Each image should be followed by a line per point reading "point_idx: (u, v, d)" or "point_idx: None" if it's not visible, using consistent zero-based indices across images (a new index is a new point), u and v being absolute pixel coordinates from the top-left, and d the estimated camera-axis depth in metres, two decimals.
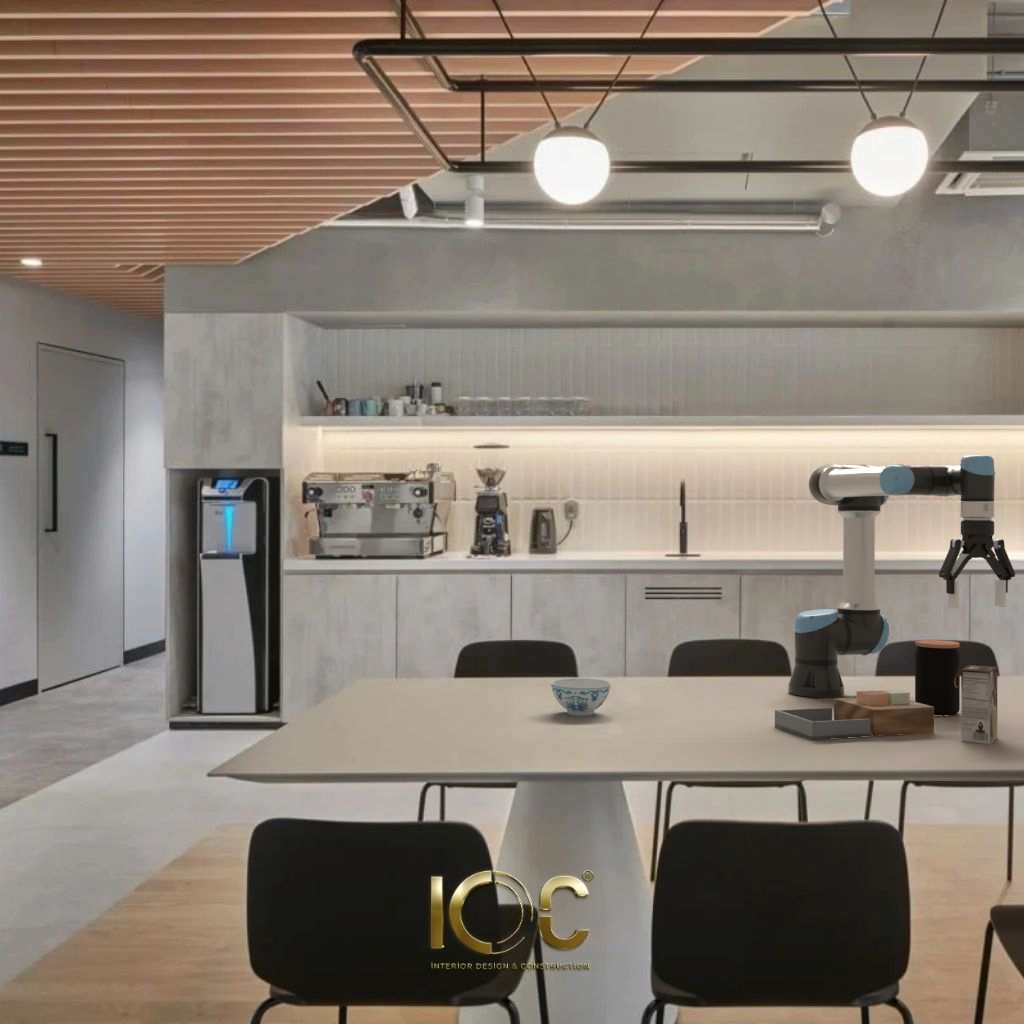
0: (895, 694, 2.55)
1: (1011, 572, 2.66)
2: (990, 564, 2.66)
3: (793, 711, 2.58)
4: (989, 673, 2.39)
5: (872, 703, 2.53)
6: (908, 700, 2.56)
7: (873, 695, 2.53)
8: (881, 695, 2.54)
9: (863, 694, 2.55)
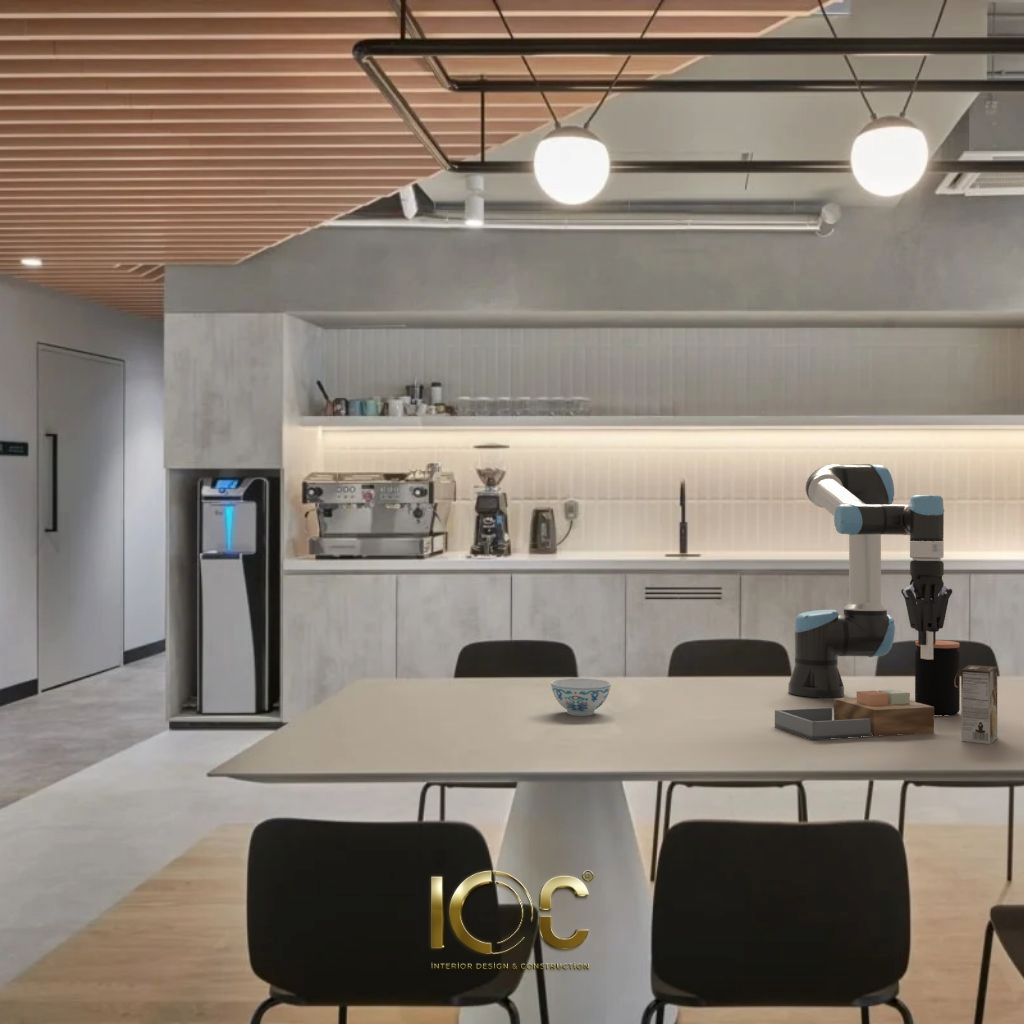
0: (895, 694, 2.55)
1: (940, 622, 2.60)
2: (927, 609, 2.61)
3: (793, 711, 2.58)
4: (989, 673, 2.39)
5: (872, 703, 2.53)
6: (908, 700, 2.56)
7: (873, 695, 2.53)
8: (881, 695, 2.54)
9: (863, 694, 2.55)
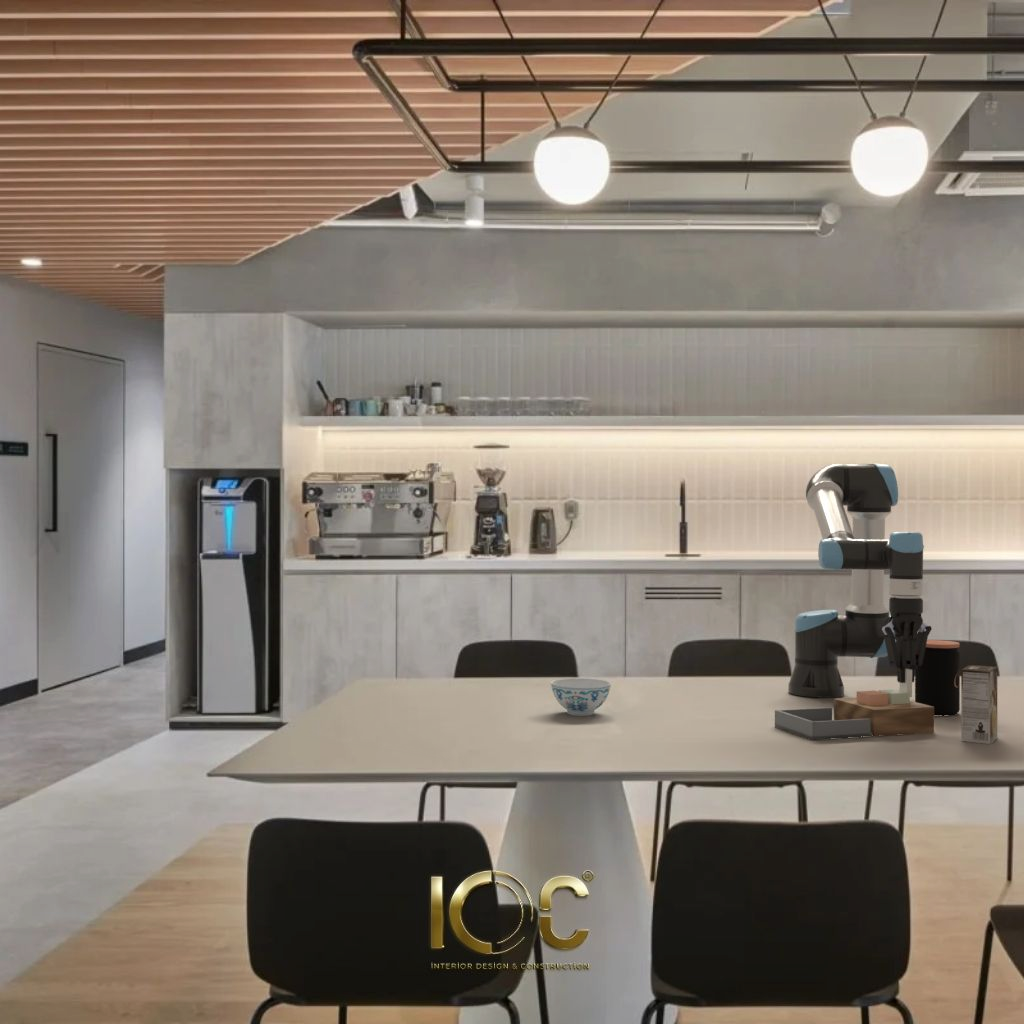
0: (895, 694, 2.55)
1: (919, 660, 2.59)
2: (906, 646, 2.60)
3: (793, 711, 2.58)
4: (989, 673, 2.39)
5: (872, 703, 2.53)
6: (908, 700, 2.56)
7: (873, 695, 2.53)
8: (881, 695, 2.54)
9: (863, 694, 2.55)
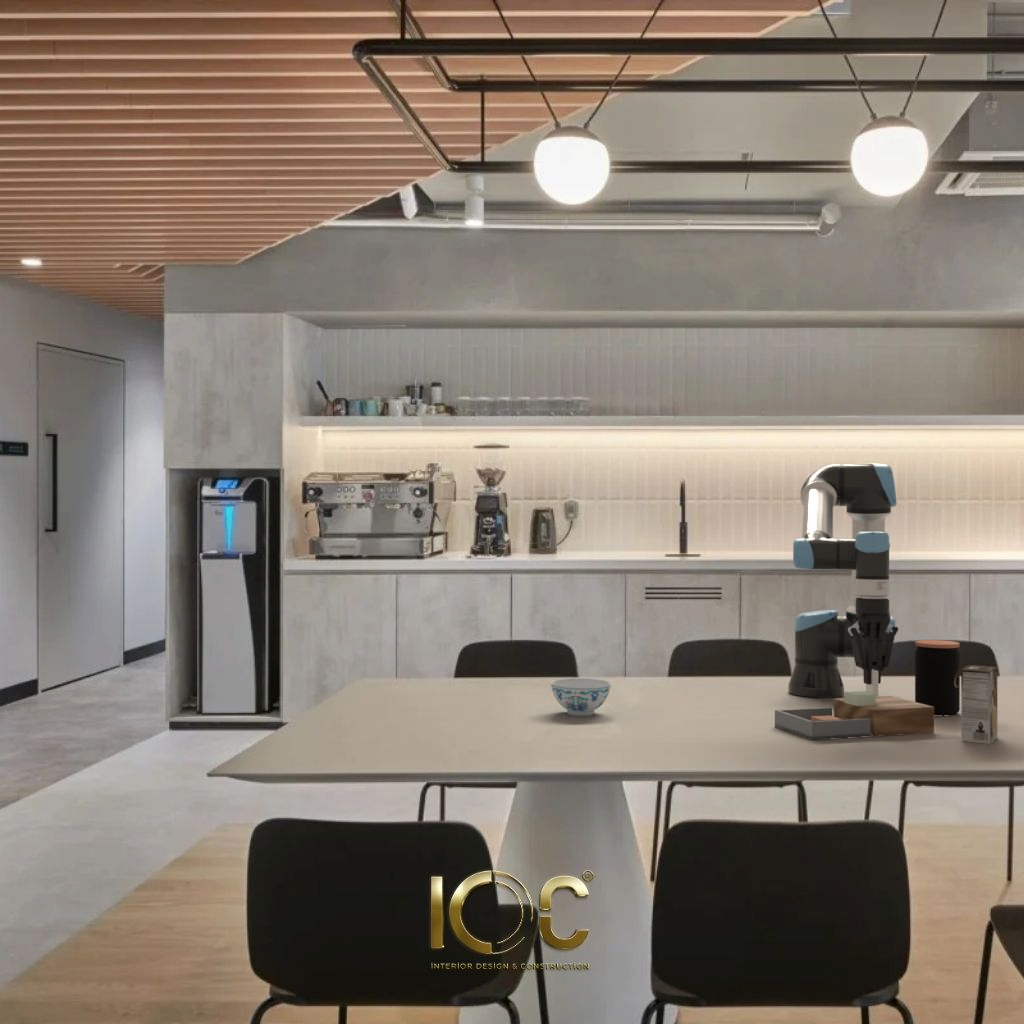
0: (861, 696, 2.52)
1: (886, 661, 2.56)
2: (873, 647, 2.57)
3: (793, 711, 2.58)
4: (989, 673, 2.39)
5: None
6: (874, 702, 2.53)
7: None
8: None
9: None
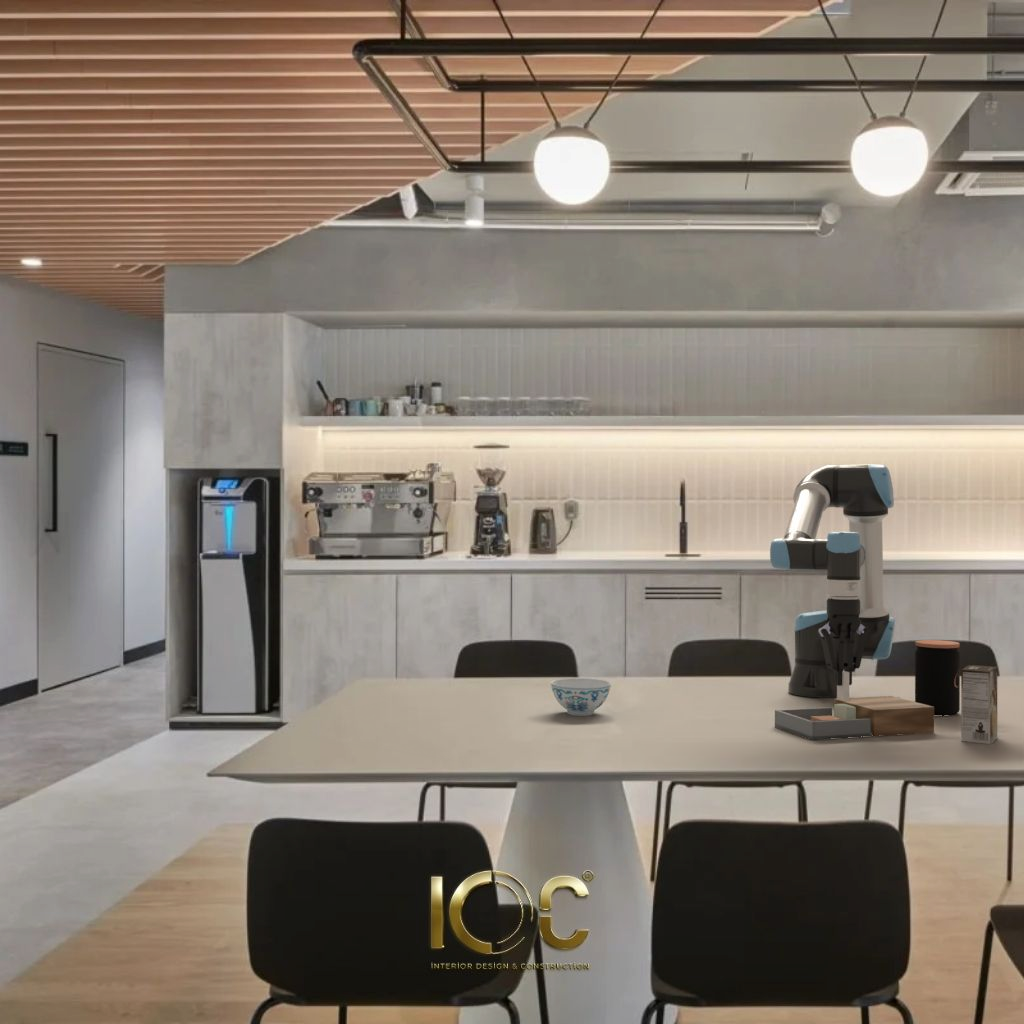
0: None
1: (857, 662, 2.54)
2: (844, 648, 2.55)
3: (793, 711, 2.58)
4: (989, 673, 2.39)
5: None
6: (853, 708, 2.52)
7: None
8: None
9: None
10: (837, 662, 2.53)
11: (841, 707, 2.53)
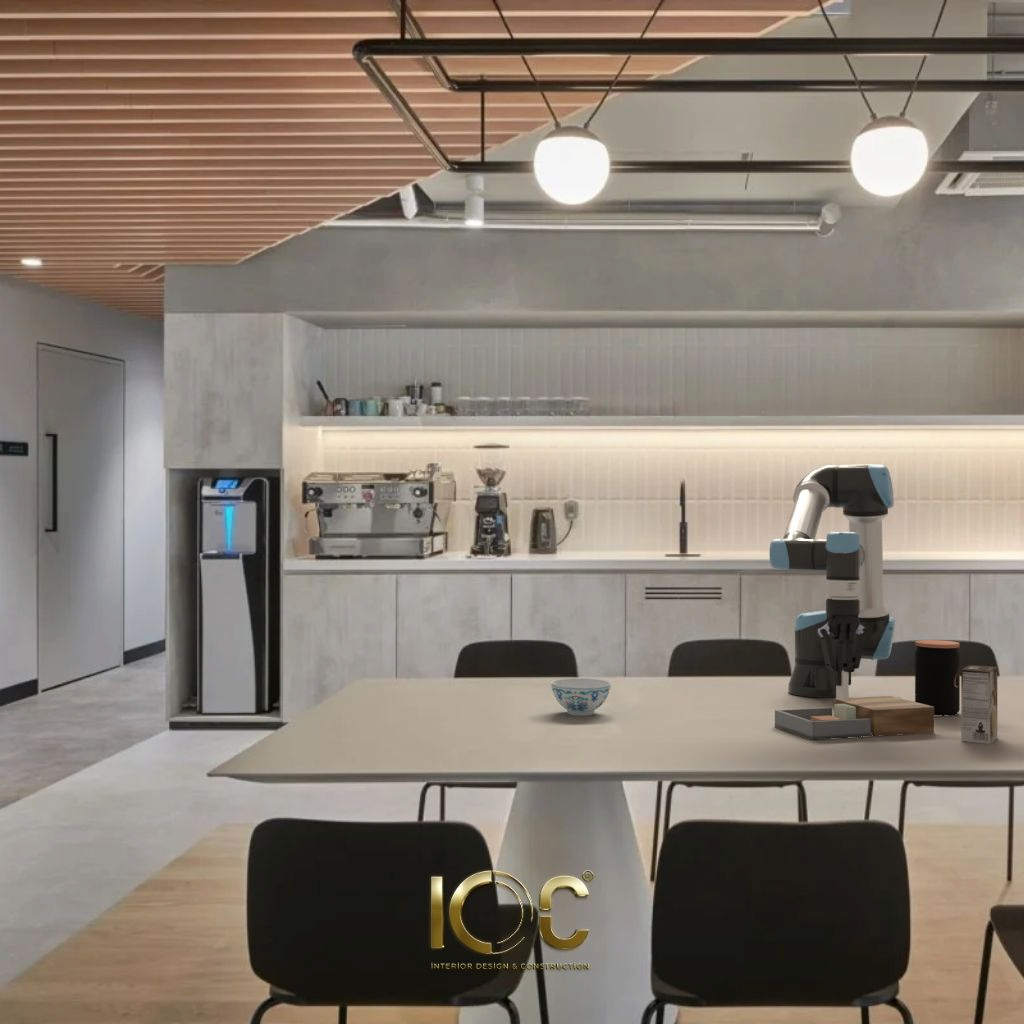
0: None
1: (856, 663, 2.54)
2: (843, 648, 2.55)
3: (793, 711, 2.58)
4: (989, 673, 2.39)
5: None
6: (853, 708, 2.52)
7: None
8: None
9: None
10: (836, 662, 2.53)
11: (841, 707, 2.53)
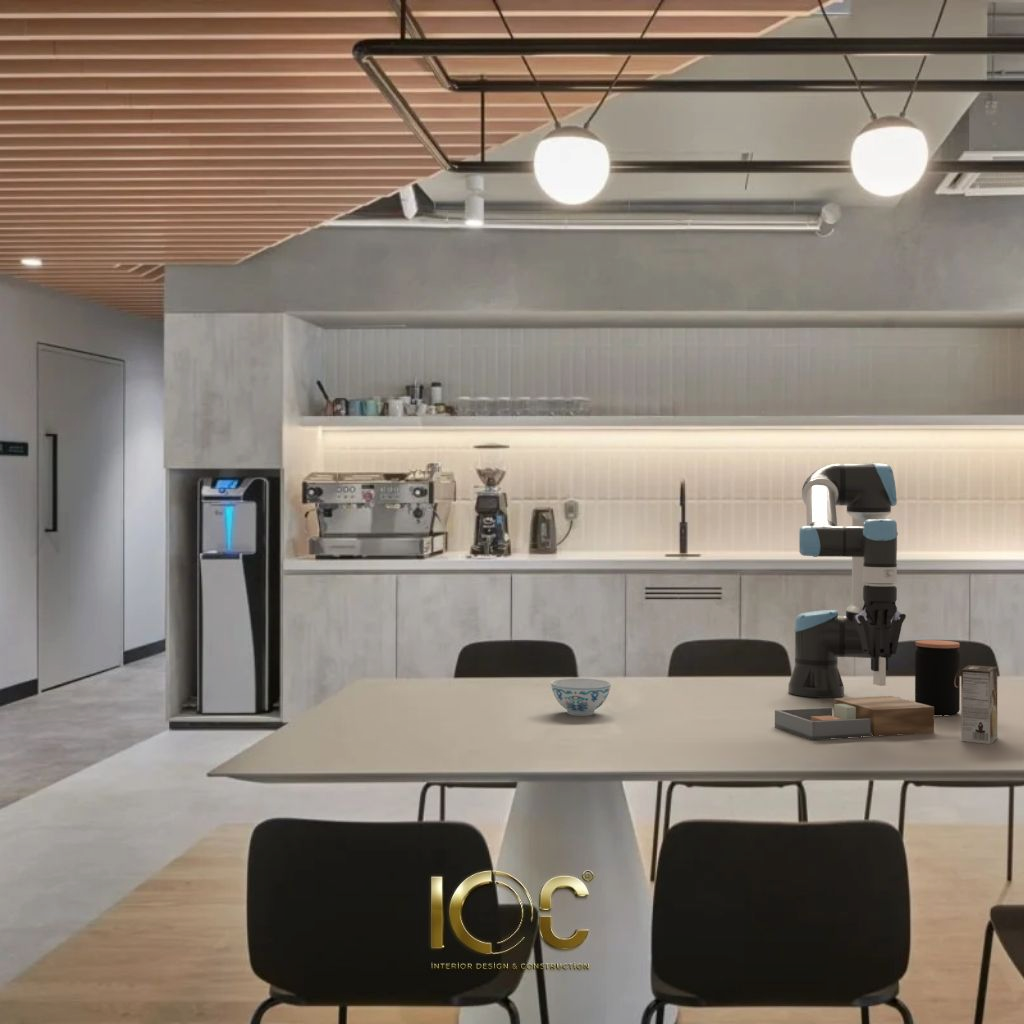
0: None
1: (893, 648, 2.57)
2: (880, 634, 2.58)
3: (793, 711, 2.58)
4: (989, 673, 2.39)
5: None
6: (853, 708, 2.52)
7: None
8: None
9: None
10: (873, 648, 2.56)
11: (841, 707, 2.53)
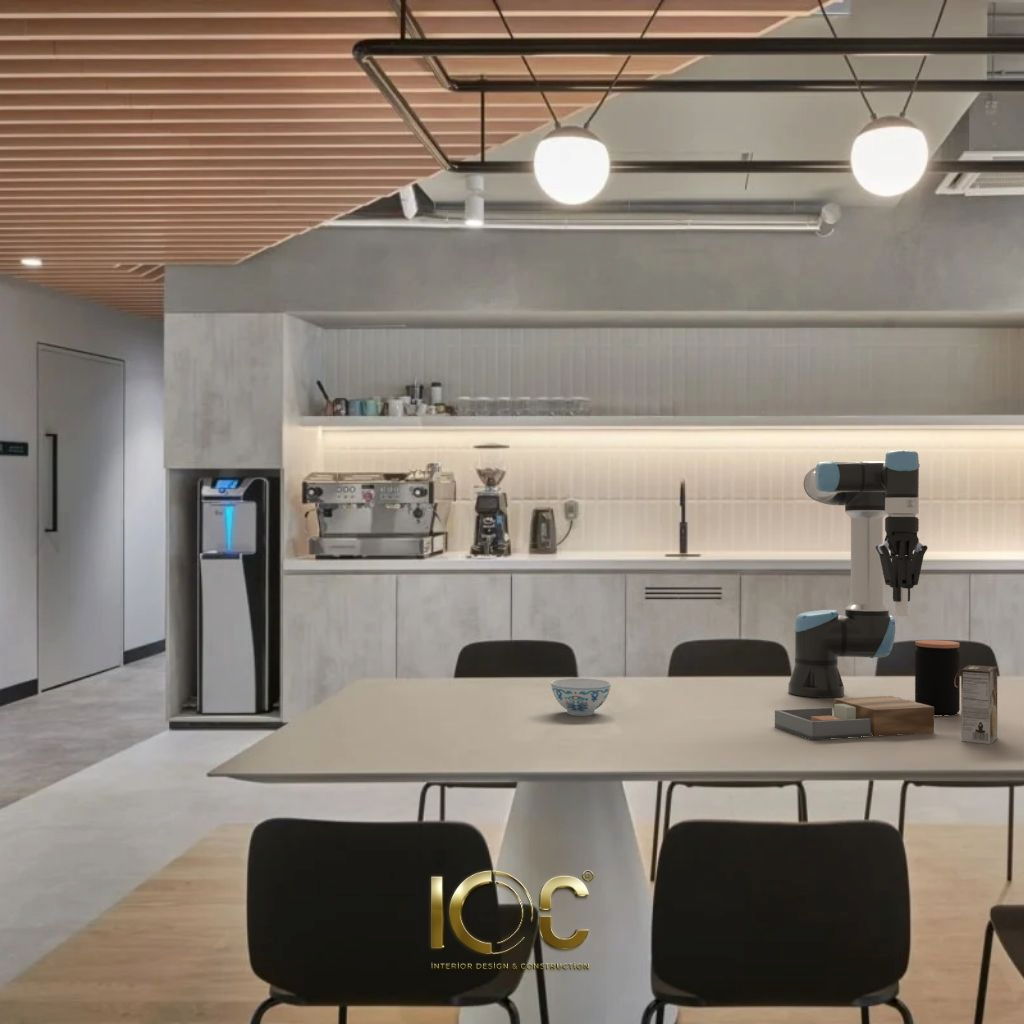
0: None
1: (915, 579, 2.58)
2: (902, 565, 2.59)
3: (793, 711, 2.58)
4: (989, 673, 2.39)
5: None
6: (853, 708, 2.52)
7: None
8: None
9: None
10: (896, 579, 2.58)
11: (841, 707, 2.53)
